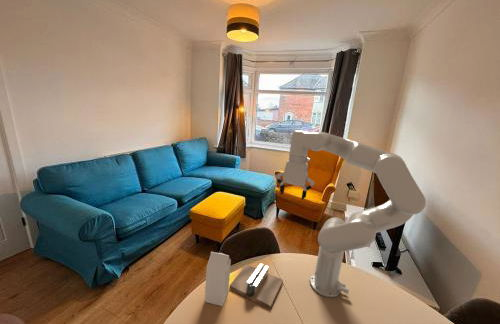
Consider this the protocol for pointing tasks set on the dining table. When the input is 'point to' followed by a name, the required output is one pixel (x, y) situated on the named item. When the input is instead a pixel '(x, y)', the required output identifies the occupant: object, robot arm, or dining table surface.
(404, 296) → the dining table surface
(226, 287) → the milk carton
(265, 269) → the gray rounded bar
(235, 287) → the walnut board
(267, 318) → the dining table surface
